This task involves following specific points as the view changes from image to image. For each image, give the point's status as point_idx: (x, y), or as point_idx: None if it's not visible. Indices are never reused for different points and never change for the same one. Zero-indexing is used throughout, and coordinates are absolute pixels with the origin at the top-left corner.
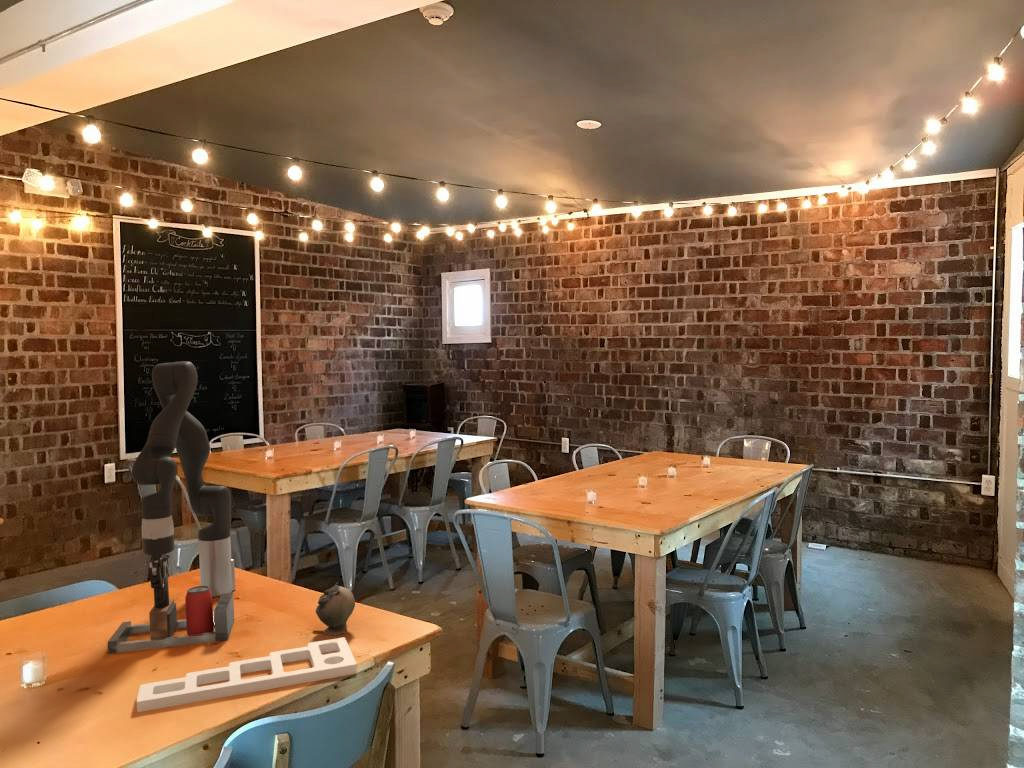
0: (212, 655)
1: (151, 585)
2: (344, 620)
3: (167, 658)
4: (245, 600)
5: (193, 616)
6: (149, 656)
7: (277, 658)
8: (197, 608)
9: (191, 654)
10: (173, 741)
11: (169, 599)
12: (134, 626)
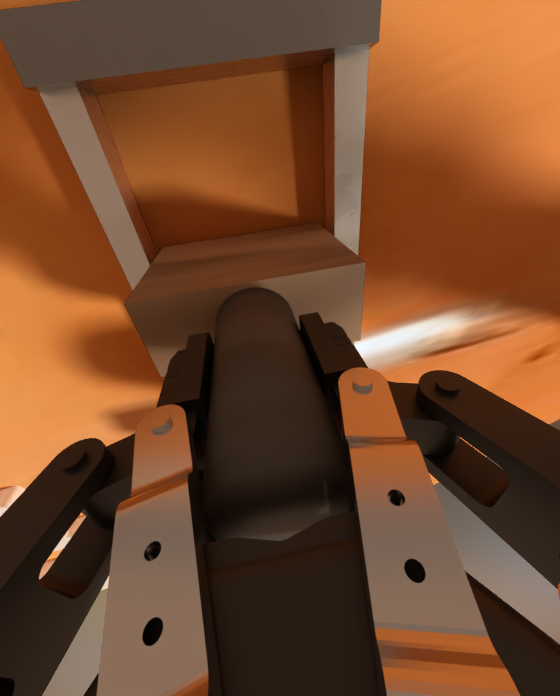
0: (105, 433)
1: (36, 483)
2: None
3: (56, 344)
4: (501, 378)
5: None
6: (58, 281)
7: (58, 546)
8: None
9: (103, 391)
10: None
11: (360, 322)
12: (335, 88)
